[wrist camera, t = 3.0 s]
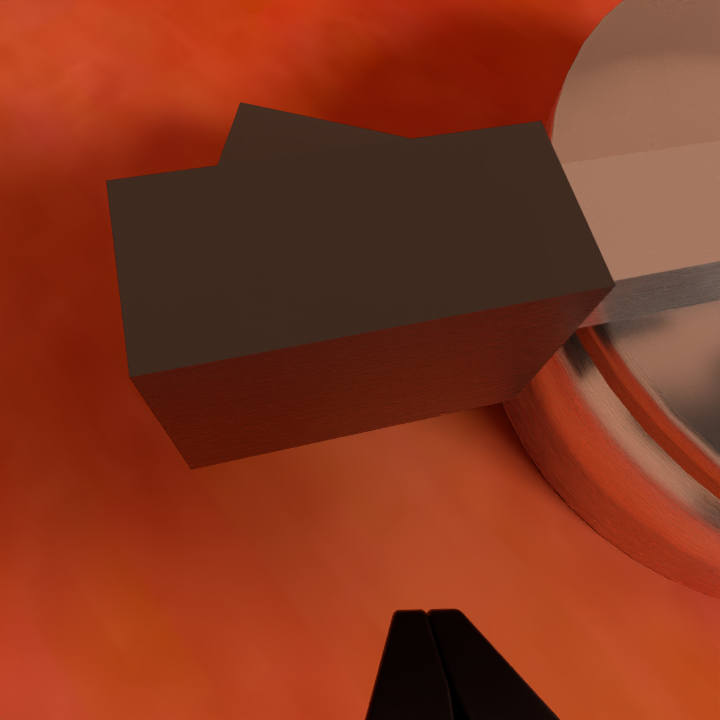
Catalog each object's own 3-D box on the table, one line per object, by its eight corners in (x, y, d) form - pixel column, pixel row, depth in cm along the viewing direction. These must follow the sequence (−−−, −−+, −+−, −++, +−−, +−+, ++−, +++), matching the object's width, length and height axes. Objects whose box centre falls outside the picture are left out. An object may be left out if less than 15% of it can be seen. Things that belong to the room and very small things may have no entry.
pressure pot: (1000, 209, 24) (1189, 93, 19) (1127, 686, 17) (1473, 708, 12) (297, 60, 24) (296, -96, 19) (159, 481, 17) (101, 416, 12)
